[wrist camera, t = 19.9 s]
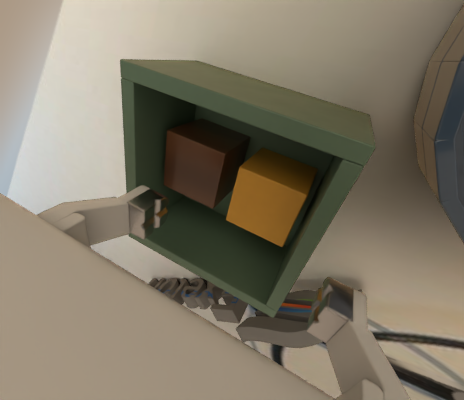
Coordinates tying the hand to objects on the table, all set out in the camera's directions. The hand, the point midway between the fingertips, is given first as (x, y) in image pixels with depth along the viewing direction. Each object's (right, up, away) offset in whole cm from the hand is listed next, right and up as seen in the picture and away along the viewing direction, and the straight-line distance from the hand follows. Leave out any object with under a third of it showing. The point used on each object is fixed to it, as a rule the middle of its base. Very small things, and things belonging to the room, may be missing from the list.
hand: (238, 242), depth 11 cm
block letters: (0, -7, +14) cm, 16 cm away
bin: (+1, +5, +7) cm, 8 cm away
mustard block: (+3, +3, +6) cm, 7 cm away
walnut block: (-1, +6, +7) cm, 9 cm away
